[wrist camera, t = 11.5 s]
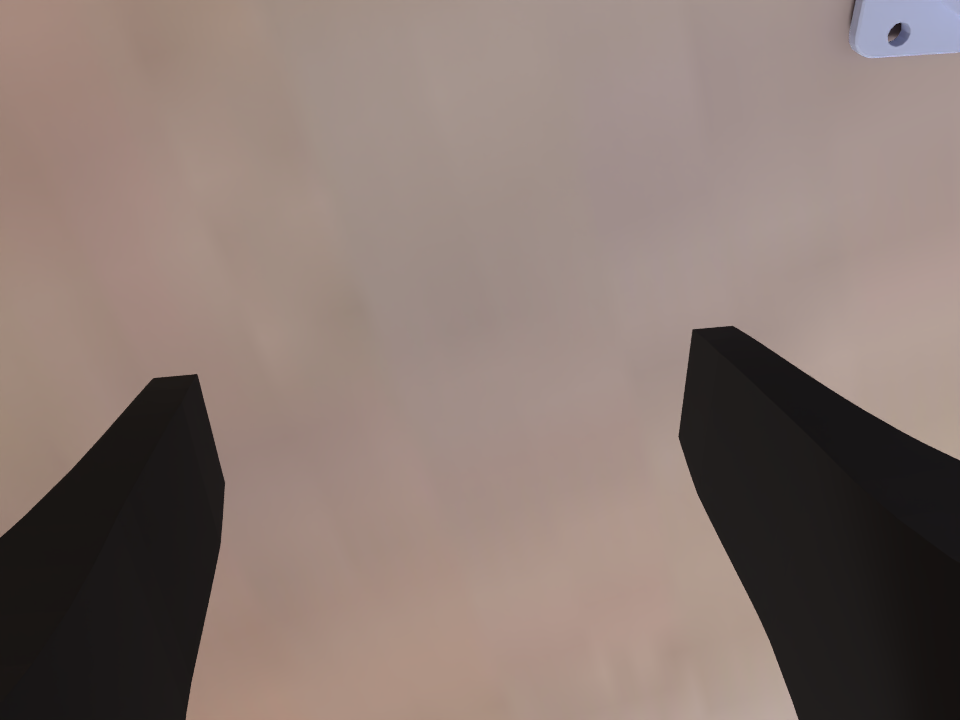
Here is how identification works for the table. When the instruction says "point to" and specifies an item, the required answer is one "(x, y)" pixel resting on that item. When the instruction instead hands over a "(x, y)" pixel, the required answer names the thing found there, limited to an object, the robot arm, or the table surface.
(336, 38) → the table surface
